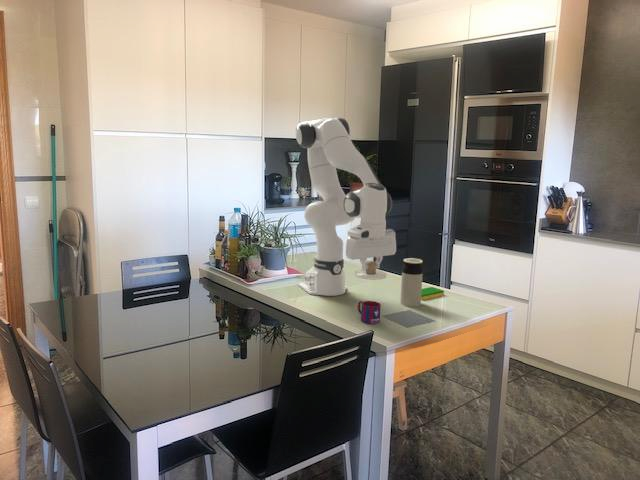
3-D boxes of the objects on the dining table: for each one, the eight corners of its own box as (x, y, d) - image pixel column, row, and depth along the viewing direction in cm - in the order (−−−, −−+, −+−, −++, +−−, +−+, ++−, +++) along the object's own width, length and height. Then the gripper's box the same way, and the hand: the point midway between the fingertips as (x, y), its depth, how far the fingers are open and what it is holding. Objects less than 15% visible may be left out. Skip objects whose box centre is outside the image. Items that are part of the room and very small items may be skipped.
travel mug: (423, 306, 204) (427, 262, 200) (405, 308, 201) (408, 262, 198) (414, 300, 211) (417, 257, 208) (396, 302, 209) (399, 258, 206)
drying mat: (380, 316, 191) (381, 315, 190) (409, 310, 198) (409, 309, 198) (406, 328, 179) (407, 327, 179) (436, 321, 187) (436, 320, 187)
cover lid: (348, 273, 184) (349, 260, 184) (372, 270, 190) (373, 257, 190) (368, 281, 175) (368, 267, 175) (392, 277, 181) (393, 264, 181)
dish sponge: (409, 296, 218) (409, 291, 218) (431, 292, 226) (432, 286, 226) (421, 301, 213) (422, 295, 212) (444, 296, 221) (444, 290, 220)
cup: (368, 326, 180) (369, 307, 179) (352, 317, 189) (352, 299, 187) (383, 323, 183) (384, 305, 182) (367, 315, 192) (368, 297, 191)
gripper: (389, 227, 188) (387, 264, 191) (343, 231, 177) (342, 270, 180) (401, 230, 183) (399, 268, 186) (355, 234, 172) (353, 274, 175)
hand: (370, 269), depth 183 cm, fingers closed on cover lid, 4 cm apart
